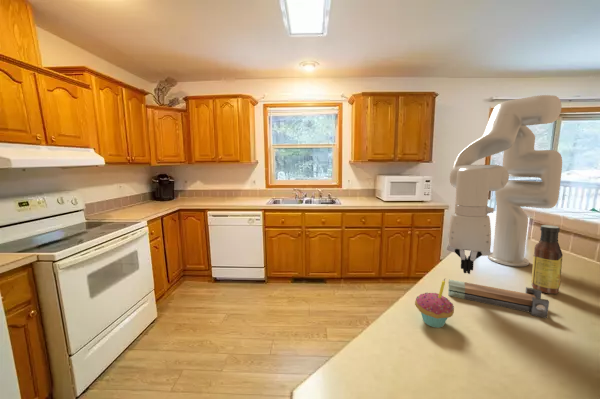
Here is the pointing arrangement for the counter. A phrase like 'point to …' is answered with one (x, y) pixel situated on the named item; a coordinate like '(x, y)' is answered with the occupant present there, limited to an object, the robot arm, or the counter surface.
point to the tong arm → (491, 292)
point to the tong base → (536, 309)
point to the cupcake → (434, 308)
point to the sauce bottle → (547, 261)
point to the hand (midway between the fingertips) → (466, 271)
